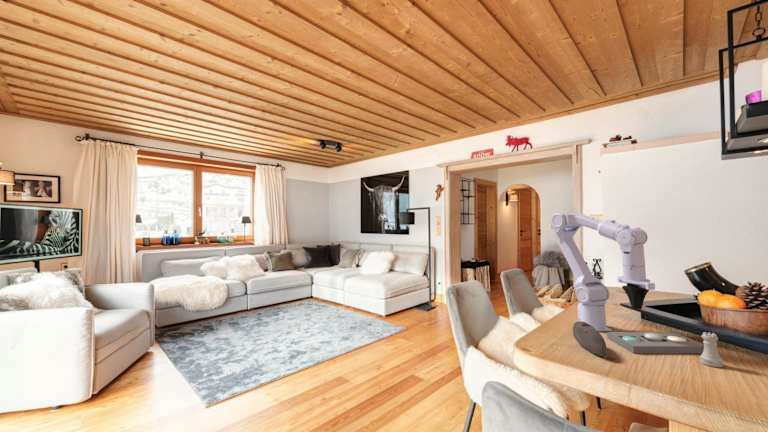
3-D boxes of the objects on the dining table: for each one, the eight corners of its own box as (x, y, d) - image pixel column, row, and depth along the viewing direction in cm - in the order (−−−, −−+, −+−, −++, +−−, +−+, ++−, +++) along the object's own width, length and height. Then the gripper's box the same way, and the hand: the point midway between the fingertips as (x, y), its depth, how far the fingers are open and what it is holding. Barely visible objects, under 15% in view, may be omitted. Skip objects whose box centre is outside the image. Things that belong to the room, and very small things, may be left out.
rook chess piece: (729, 368, 82) (726, 336, 82) (708, 367, 83) (706, 336, 83) (715, 361, 86) (712, 331, 87) (695, 360, 87) (693, 330, 88)
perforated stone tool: (614, 360, 89) (612, 335, 89) (593, 360, 90) (592, 335, 90) (589, 342, 104) (588, 320, 104) (572, 341, 105) (570, 320, 105)
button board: (607, 338, 106) (606, 332, 106) (672, 338, 104) (672, 331, 104) (633, 353, 93) (633, 346, 94) (708, 353, 91) (708, 346, 92)
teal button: (619, 340, 102) (619, 336, 102) (634, 340, 102) (634, 336, 102) (628, 344, 98) (628, 340, 98) (644, 344, 97) (643, 340, 97)
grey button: (641, 336, 101) (640, 333, 101) (656, 336, 101) (655, 333, 101) (651, 341, 97) (651, 337, 97) (667, 341, 97) (666, 337, 97)
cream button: (663, 339, 101) (663, 336, 101) (678, 339, 100) (678, 336, 100) (674, 344, 96) (674, 340, 96) (690, 344, 96) (690, 340, 96)
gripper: (664, 268, 96) (668, 314, 95) (632, 263, 110) (635, 303, 109) (639, 268, 96) (642, 314, 96) (610, 263, 111) (612, 303, 110)
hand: (636, 308), depth 102 cm, fingers closed
